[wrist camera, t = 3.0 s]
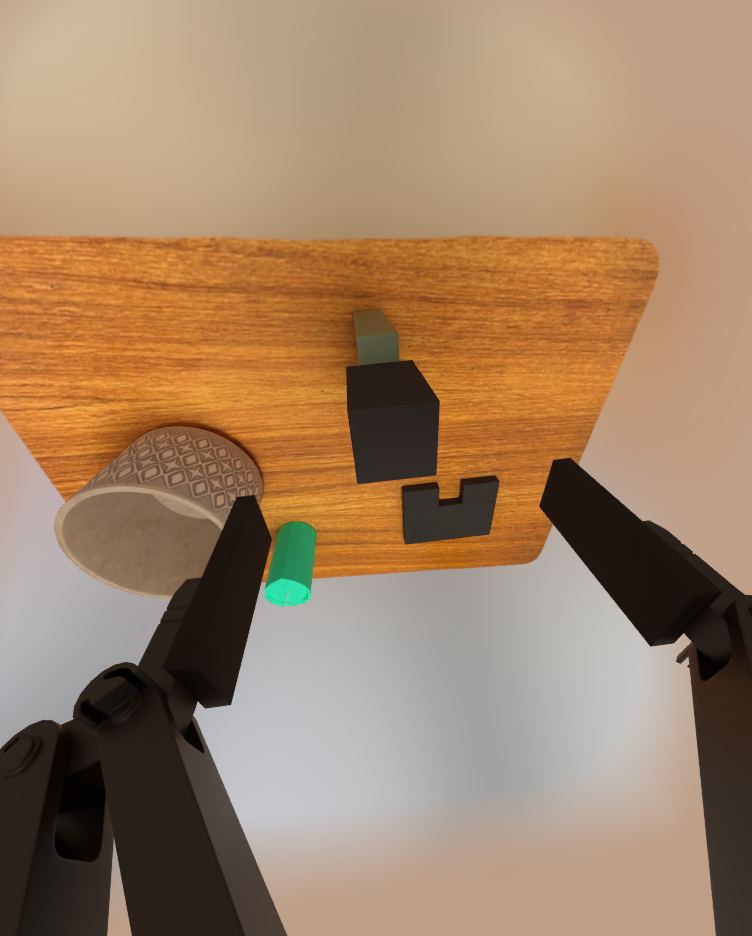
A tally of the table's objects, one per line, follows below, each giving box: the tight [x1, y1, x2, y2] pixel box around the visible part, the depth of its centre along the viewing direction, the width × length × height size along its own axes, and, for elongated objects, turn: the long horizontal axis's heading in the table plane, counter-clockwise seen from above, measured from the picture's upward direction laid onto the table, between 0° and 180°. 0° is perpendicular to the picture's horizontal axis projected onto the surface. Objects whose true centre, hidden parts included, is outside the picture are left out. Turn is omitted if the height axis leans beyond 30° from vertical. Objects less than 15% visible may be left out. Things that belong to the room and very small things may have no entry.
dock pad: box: [402, 476, 499, 544], centre depth 48 cm, size 14×11×2 cm
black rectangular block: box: [346, 360, 440, 484], centre depth 22 cm, size 5×8×8 cm, turn 4°
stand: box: [353, 309, 399, 366], centre depth 29 cm, size 3×9×12 cm, turn 4°
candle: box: [265, 522, 316, 606], centre depth 44 cm, size 6×6×12 cm
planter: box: [54, 426, 263, 599], centre depth 36 cm, size 16×16×13 cm
